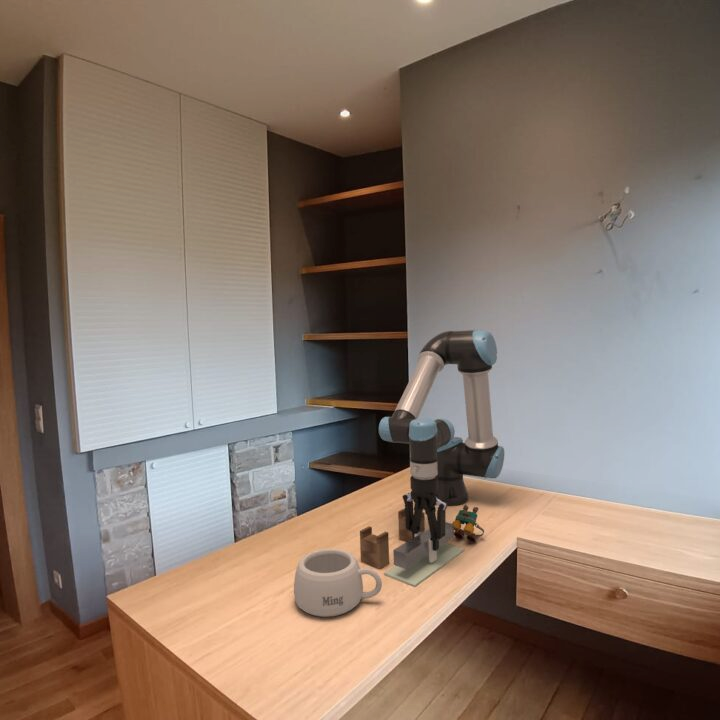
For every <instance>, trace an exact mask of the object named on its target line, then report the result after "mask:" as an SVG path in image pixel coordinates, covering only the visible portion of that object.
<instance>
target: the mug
mask: <svg viewBox="0 0 720 720" xmlns="http://www.w3.org/2000/svg"><path fill="white" fill-rule="evenodd" d="M362 575H370V576H371V577H373V579H374V581H375V587H374V589H372V590H370V591H364V585H363V577H362ZM382 585H383V582H382V578H381V576H380V575H379V573H378V572H377V571H376V570H374V569H373V568H370V567H364V568H362V567H361V566H360V565H359V562H358V560H357V558H356V557H355V555H354V554H352V552H349V551H347V550H344V549H340V548H339V549H338V548H321V549H318V550H313V551H311V552H309V553H307V554H305V555H304V556H302V558H300V560H299V561H298V563H297V566H296V570H295V574H294V583H293V595H294V600H295V604H296V605H297V606H298V607H299V608H300V609H301V610H302V611H304V612H305V613H307V614H309V615H311V616H315V617H321V618H328V617H329V618H330V617H336V616H340V615H343V614H346V613H348V612H349V611H351V610H353V609H354V608H355V607H356V606H357V605H359V603H360V601H361V599H371V598H373V597H375V596H377V595H378V594H379V593H380V592H381V590H382V587H383V586H382Z"/></svg>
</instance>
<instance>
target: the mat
mask: <svg viewBox="0 0 720 720" xmlns="http://www.w3.org/2000/svg"><path fill="white" fill-rule="evenodd" d="M464 552H465V549H464V548H461V547H457V546H454V545H451V544H448V543H445V544H443V545H442V546H440V547H439V549H438V550H437V560H435V561H434V562H432V563H430V562H429V554H428V555H427V556H425V557H424V558H422V559H421V560H420V561H418V562H417V563H415V564H414V565H412V566H411V567H409V568H408V569H404V568H401V567H398V566H396V565H394V566H392V567H391V568H389V569H387V571H385V572H383V575H384V576H386V577H389V578H391V579H394V580H396V581H399V582H401V583H404V584H406V585H409V586H411V587H415V588H416V587H417V586H418V585H420V584H422V583H423V582H425V580H426V579H428V578H430V577H431V576H432V575H434V574H435V573H436V572H438V571H439V570H441V569H442V568H443V567H444V566H446V565H447V564H448V563H450V562H451V561H453V560H455V558H457V557H458V556H459V555H460V554H462V553H464Z"/></svg>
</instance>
